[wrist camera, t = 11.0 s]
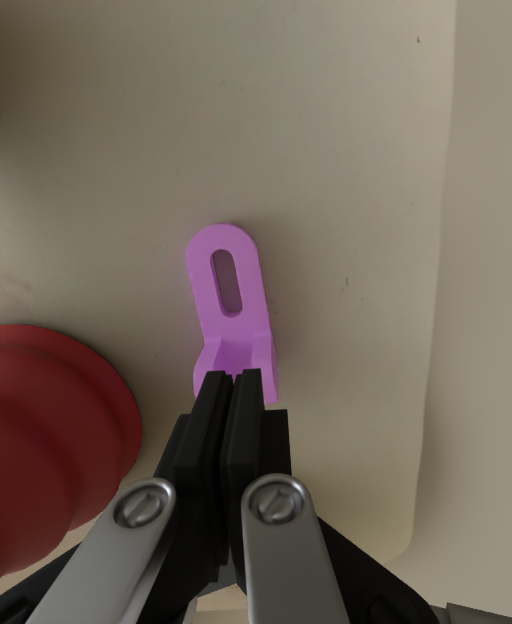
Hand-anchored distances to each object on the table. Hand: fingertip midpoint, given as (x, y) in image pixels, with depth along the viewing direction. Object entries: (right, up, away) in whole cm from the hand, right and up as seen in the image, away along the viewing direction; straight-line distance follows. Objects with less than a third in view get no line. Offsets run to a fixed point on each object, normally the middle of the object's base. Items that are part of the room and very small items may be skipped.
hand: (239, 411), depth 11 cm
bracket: (-1, +4, +18) cm, 19 cm away
